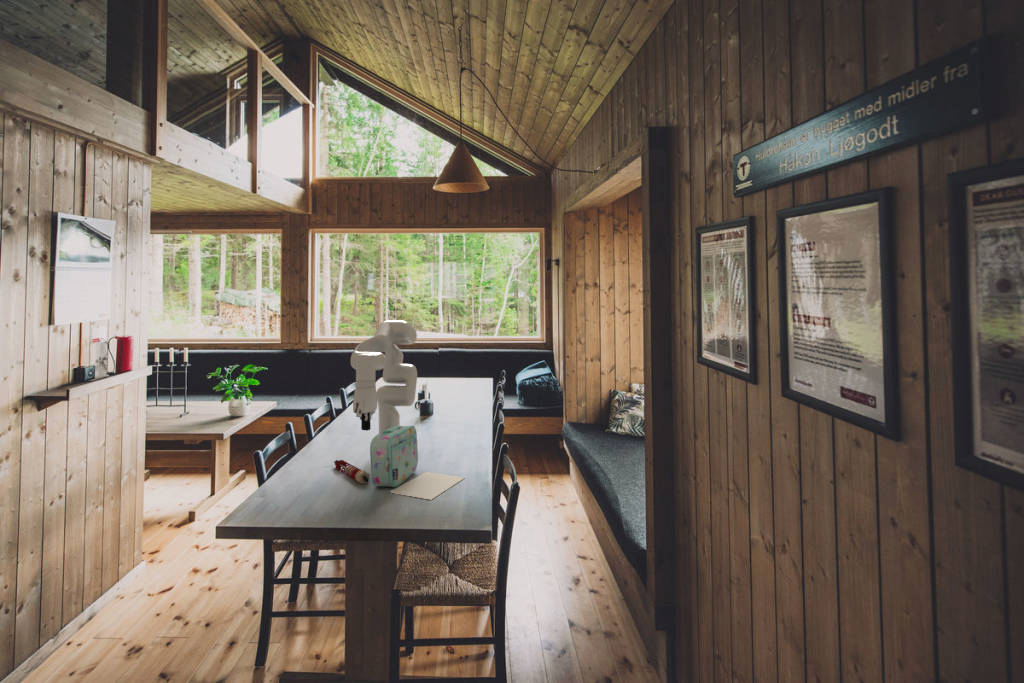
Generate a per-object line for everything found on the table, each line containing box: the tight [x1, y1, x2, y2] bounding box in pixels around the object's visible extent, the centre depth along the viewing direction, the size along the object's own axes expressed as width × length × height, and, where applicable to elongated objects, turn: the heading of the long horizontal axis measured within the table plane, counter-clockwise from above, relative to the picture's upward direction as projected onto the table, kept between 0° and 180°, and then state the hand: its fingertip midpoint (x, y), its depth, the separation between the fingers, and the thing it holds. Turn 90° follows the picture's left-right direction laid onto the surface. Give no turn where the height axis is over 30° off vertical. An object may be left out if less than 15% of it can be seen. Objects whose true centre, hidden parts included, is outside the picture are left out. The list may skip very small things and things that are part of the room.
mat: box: [389, 471, 465, 501], centre depth 203 cm, size 18×26×1 cm
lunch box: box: [369, 425, 419, 488], centre depth 208 cm, size 27×10×21 cm, turn 168°
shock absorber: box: [333, 459, 370, 485], centre depth 213 cm, size 5×5×30 cm
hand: (365, 429), depth 212 cm, fingers closed
